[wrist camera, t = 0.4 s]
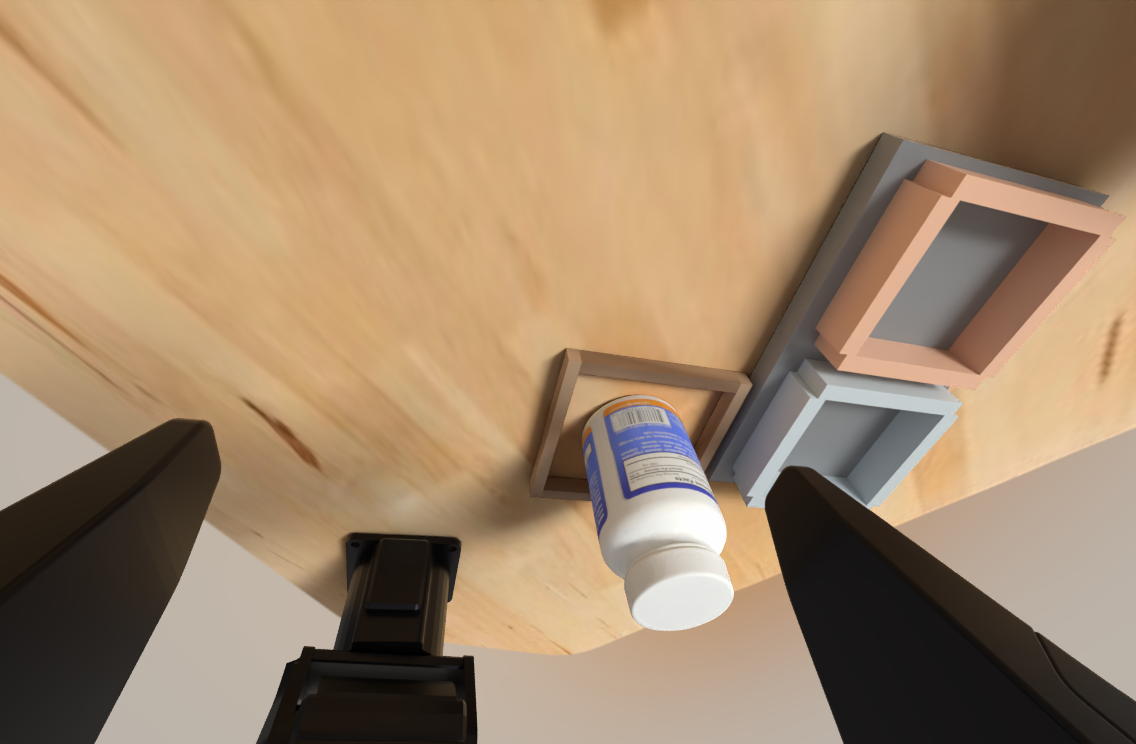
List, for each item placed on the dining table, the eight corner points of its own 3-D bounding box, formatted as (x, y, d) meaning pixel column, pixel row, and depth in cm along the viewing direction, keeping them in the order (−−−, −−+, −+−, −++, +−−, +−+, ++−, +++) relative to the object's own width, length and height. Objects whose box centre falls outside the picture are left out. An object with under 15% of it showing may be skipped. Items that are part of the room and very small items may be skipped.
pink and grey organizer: (848, 478, 31) (879, 521, 29) (702, 464, 29) (721, 509, 26) (1081, 186, 21) (1161, 212, 19) (883, 132, 19) (943, 153, 16)
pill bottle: (633, 478, 29) (681, 653, 21) (559, 442, 27) (583, 623, 19) (701, 419, 27) (782, 590, 19) (627, 373, 24) (686, 548, 17)
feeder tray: (679, 494, 30) (684, 507, 30) (529, 482, 28) (530, 496, 28) (744, 372, 25) (752, 385, 24) (566, 348, 23) (568, 360, 22)
